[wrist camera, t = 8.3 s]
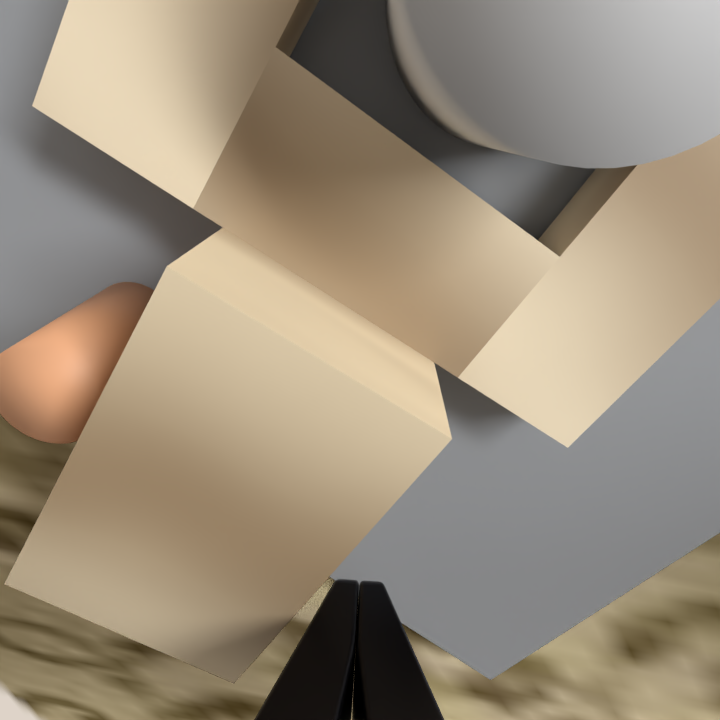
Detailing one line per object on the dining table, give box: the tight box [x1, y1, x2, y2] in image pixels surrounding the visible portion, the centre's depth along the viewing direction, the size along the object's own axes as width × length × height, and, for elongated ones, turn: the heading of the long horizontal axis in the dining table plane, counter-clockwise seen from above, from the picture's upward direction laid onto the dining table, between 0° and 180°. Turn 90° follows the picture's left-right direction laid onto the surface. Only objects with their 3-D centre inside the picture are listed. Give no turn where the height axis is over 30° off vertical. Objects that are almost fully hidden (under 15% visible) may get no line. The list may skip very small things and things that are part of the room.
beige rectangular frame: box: [4, 0, 720, 683], centre depth 7 cm, size 16×10×4 cm, turn 146°
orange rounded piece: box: [0, 282, 154, 444], centre depth 9 cm, size 2×2×3 cm
